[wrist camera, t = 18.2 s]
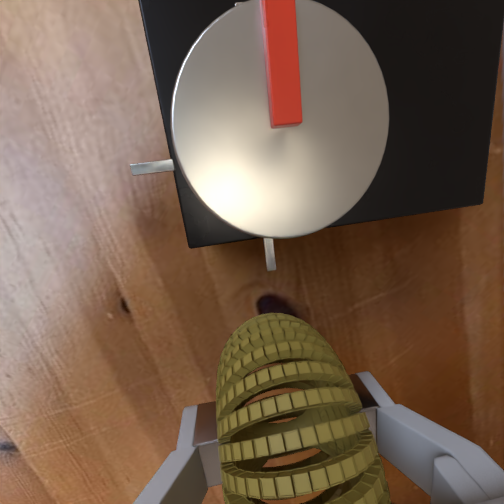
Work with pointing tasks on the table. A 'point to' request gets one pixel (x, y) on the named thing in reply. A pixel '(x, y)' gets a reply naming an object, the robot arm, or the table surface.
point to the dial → (279, 117)
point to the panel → (399, 97)
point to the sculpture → (297, 430)
